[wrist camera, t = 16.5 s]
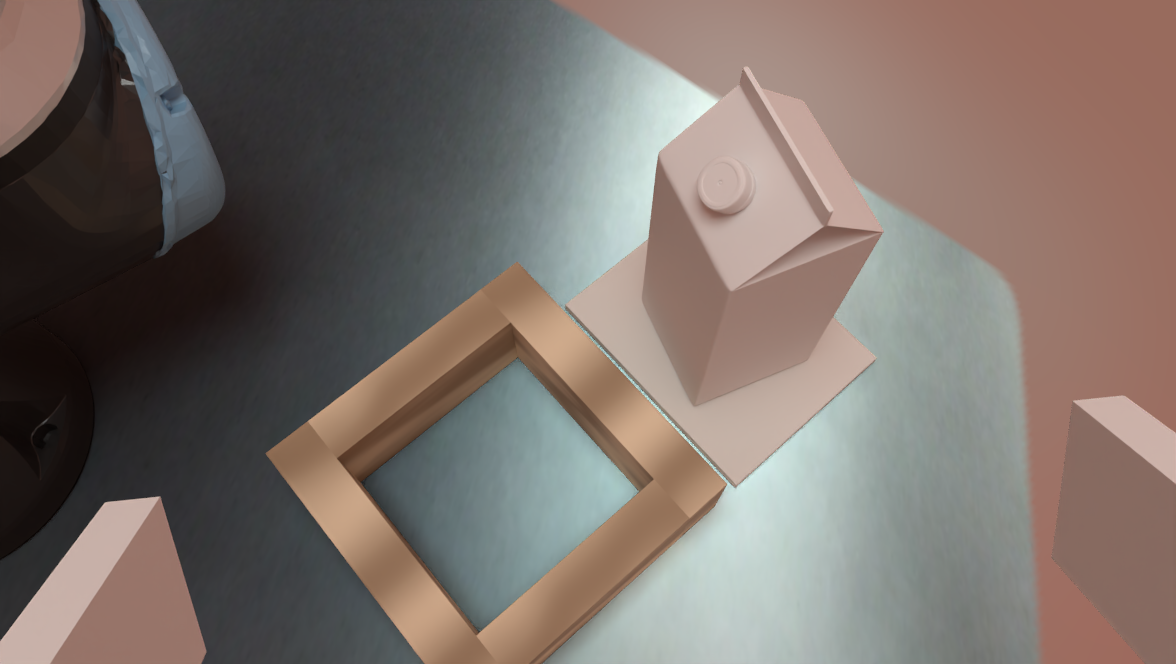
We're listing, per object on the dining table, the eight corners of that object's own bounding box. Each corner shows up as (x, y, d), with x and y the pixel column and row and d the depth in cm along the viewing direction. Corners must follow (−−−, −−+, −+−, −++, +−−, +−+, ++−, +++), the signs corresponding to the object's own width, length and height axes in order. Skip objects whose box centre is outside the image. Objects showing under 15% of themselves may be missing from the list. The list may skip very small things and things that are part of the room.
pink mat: (565, 308, 54) (565, 304, 53) (702, 200, 57) (703, 195, 56) (735, 487, 50) (736, 485, 49) (873, 361, 53) (876, 357, 52)
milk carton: (750, 257, 55) (824, 37, 37) (808, 361, 52) (916, 179, 34) (640, 300, 54) (662, 95, 36) (692, 408, 51) (744, 245, 33)
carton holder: (295, 478, 50) (265, 453, 46) (523, 300, 54) (517, 261, 50) (479, 719, 46) (466, 719, 41) (714, 505, 49) (727, 484, 45)
